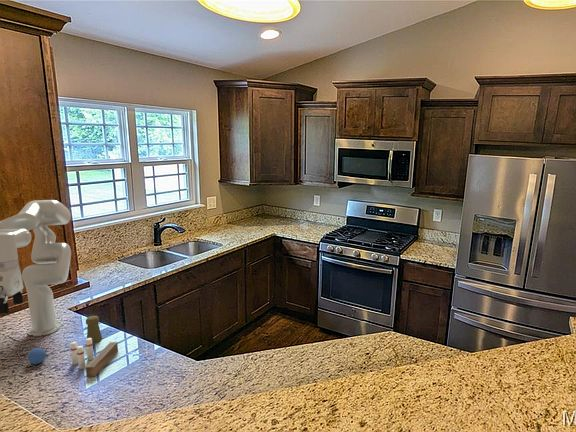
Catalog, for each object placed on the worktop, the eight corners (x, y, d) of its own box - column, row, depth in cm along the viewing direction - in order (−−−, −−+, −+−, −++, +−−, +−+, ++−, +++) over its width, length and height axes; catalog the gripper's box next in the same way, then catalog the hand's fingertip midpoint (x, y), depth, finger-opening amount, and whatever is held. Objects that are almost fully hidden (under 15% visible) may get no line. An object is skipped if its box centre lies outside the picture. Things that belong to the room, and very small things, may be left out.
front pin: (72, 362, 144) (70, 342, 142) (79, 360, 145) (76, 341, 144) (72, 365, 142) (69, 345, 140) (78, 363, 143) (76, 343, 142)
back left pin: (87, 358, 147) (85, 338, 145) (93, 356, 148) (91, 337, 146) (87, 361, 145) (85, 341, 143) (94, 359, 146) (92, 339, 144)
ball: (29, 361, 145) (27, 347, 144) (47, 357, 148) (45, 343, 147) (27, 368, 140) (25, 354, 139) (46, 364, 142) (44, 350, 141)
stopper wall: (86, 377, 134) (85, 367, 134) (110, 351, 152) (110, 342, 151) (94, 377, 134) (93, 367, 134) (118, 351, 152) (117, 342, 151)
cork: (98, 335, 165) (96, 312, 163) (104, 339, 161) (102, 316, 160) (84, 340, 161) (81, 317, 159) (90, 345, 157) (87, 321, 155)
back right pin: (78, 366, 141) (76, 346, 139) (85, 365, 142) (83, 345, 140) (78, 370, 139) (76, 349, 137) (85, 368, 140) (83, 347, 138)
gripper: (4, 270, 130) (9, 316, 133) (29, 258, 147) (33, 299, 150) (-20, 271, 129) (-14, 318, 131) (8, 259, 146) (13, 301, 148)
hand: (11, 308), depth 140 cm, fingers open, 9 cm apart
